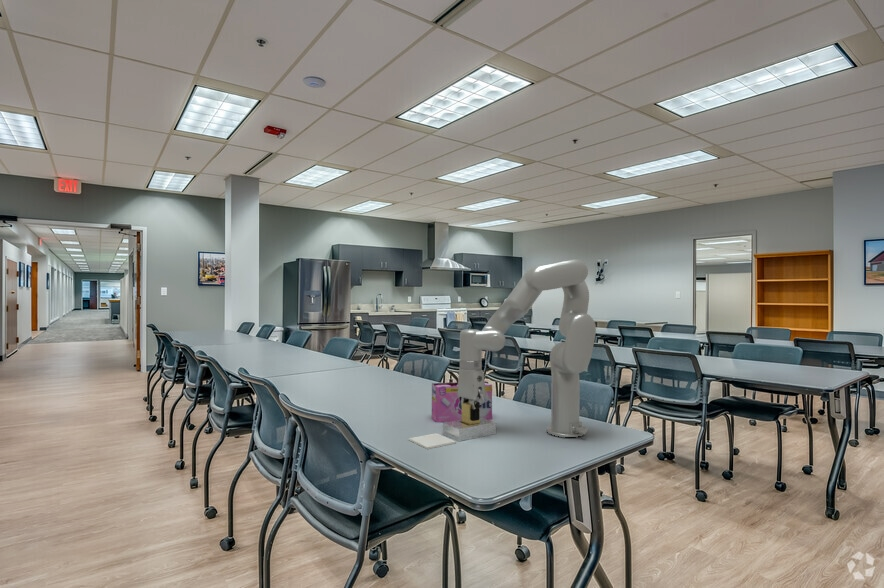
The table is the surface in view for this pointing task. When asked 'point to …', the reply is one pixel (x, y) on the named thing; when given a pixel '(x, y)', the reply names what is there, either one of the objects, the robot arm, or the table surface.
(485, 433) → the grey speckled block
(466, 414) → the yellow rectangular block
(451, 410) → the gum box
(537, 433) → the table surface
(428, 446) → the cream pad
